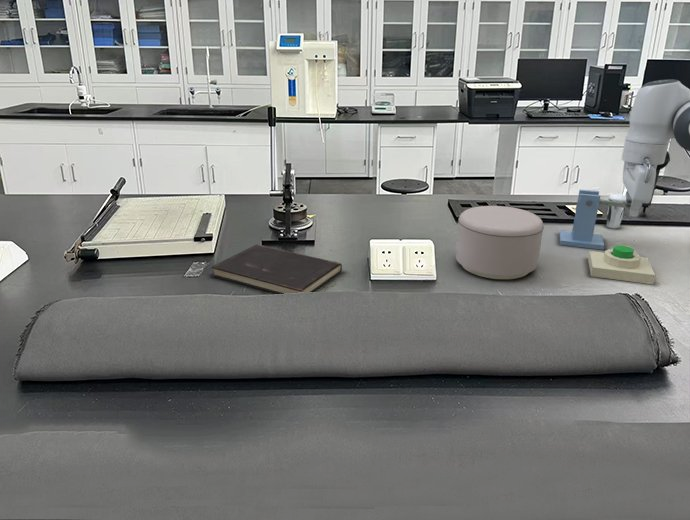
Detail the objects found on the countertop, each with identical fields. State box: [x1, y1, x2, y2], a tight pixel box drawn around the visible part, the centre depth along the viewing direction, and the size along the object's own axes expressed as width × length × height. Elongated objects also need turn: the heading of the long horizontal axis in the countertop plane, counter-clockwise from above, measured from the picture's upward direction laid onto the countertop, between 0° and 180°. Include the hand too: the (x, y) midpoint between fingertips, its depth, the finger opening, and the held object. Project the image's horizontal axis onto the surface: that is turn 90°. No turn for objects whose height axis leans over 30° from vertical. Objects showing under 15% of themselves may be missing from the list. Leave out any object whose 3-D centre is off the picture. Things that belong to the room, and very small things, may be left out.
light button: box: [612, 244, 635, 259], centre depth 115 cm, size 4×4×2 cm
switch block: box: [587, 248, 656, 285], centre depth 116 cm, size 12×10×4 cm
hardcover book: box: [210, 243, 343, 295], centre depth 115 cm, size 16×23×2 cm
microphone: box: [640, 150, 671, 217], centre depth 150 cm, size 7×7×20 cm
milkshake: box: [605, 188, 627, 229], centre depth 143 cm, size 4×5×10 cm
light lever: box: [583, 193, 632, 209], centre depth 128 cm, size 12×6×2 cm, turn 70°
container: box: [454, 205, 545, 280], centre depth 118 cm, size 18×18×12 cm
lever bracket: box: [558, 189, 605, 251], centre depth 132 cm, size 10×8×13 cm
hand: (630, 211), depth 127 cm, fingers closed on light lever, 6 cm apart
